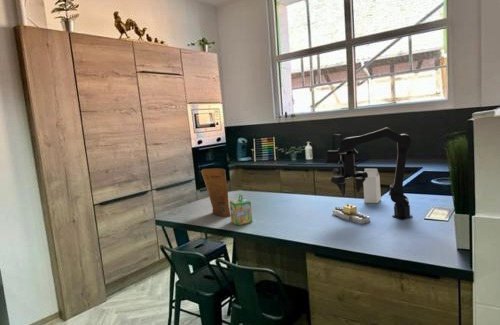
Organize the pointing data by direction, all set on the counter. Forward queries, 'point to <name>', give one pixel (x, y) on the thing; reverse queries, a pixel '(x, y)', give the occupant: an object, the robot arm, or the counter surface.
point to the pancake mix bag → (217, 190)
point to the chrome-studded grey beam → (355, 218)
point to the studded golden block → (350, 209)
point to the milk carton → (372, 186)
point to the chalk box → (241, 211)
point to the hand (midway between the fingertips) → (350, 194)
